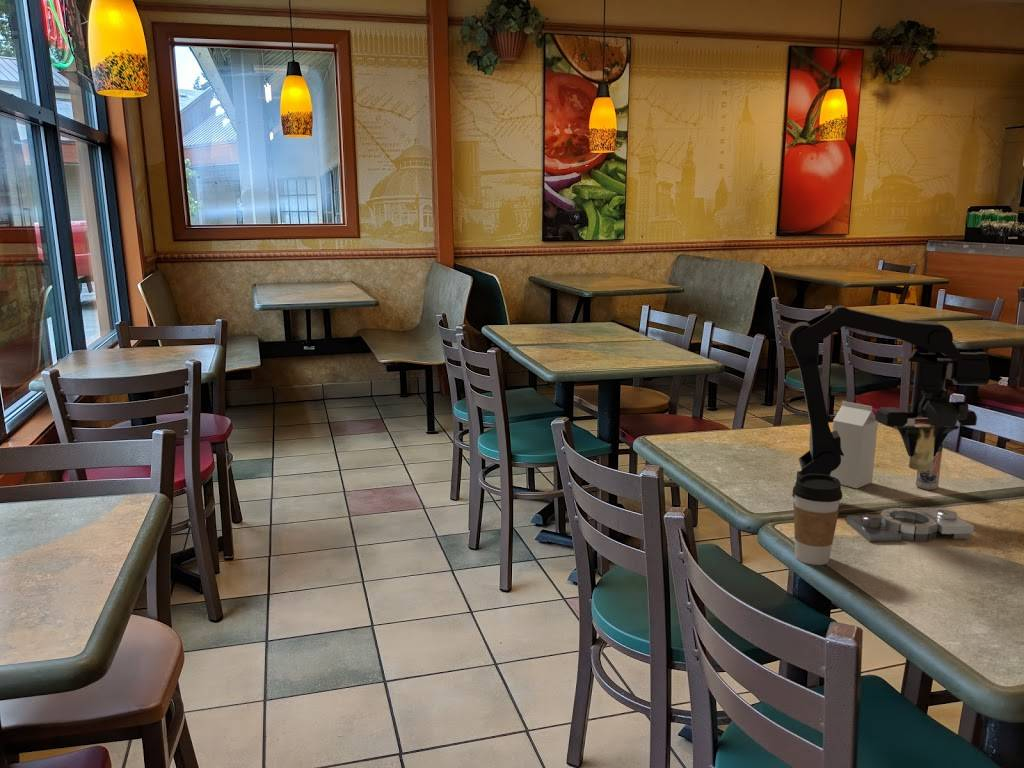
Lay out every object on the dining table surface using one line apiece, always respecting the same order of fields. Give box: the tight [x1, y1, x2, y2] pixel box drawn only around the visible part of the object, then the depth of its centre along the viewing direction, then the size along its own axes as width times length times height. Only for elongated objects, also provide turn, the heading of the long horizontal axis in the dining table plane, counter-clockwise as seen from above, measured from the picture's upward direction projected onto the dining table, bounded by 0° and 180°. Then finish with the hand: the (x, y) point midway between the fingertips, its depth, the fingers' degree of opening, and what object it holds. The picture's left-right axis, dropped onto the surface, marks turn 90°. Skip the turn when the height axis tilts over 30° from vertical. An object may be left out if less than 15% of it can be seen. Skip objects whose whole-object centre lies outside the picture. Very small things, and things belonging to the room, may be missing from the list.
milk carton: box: [830, 400, 879, 489], centre depth 185 cm, size 7×7×19 cm
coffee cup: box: [792, 474, 843, 566], centre depth 144 cm, size 8×8×15 cm
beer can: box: [914, 441, 944, 491], centre depth 183 cm, size 5×5×12 cm
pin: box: [908, 423, 937, 471], centre depth 167 cm, size 4×4×9 cm
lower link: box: [846, 513, 938, 543], centre depth 157 cm, size 15×10×3 cm, turn 92°
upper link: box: [880, 507, 975, 540], centre depth 157 cm, size 15×10×4 cm, turn 92°
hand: (921, 456), depth 167 cm, fingers closed on pin, 4 cm apart
